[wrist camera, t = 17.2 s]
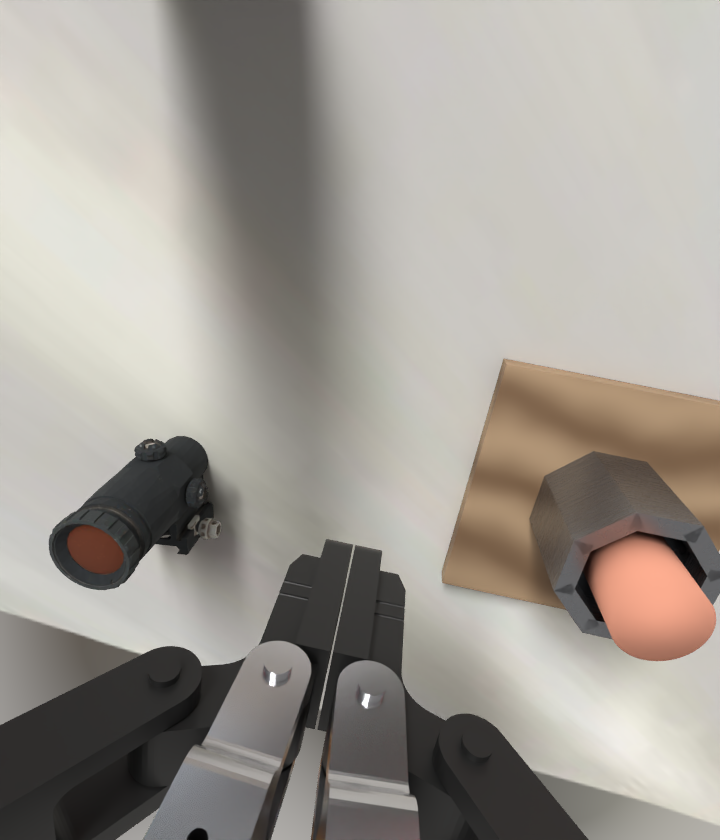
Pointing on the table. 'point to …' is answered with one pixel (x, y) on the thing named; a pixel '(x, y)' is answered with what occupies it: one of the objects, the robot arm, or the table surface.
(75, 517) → the scope
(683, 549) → the grey octagonal cup
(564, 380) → the walnut board
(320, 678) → the robot arm
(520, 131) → the table surface
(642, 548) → the salmon pink rounded cylinder
